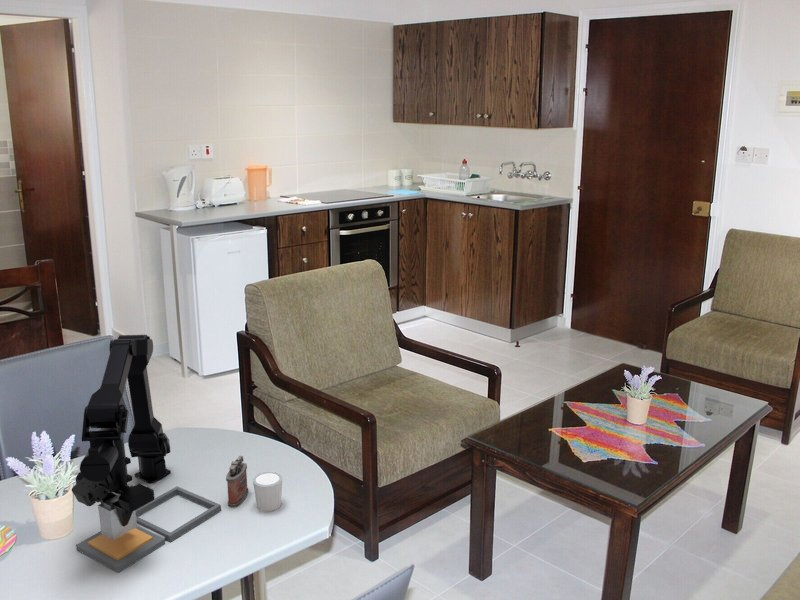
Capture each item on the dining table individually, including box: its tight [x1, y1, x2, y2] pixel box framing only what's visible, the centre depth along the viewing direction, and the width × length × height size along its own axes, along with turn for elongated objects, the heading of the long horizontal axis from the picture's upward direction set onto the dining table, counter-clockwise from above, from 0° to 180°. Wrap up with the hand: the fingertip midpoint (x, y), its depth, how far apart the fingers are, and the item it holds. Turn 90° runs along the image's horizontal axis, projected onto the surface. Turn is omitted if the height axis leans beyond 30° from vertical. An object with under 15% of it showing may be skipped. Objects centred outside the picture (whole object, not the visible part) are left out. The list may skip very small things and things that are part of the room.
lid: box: [75, 524, 166, 573], centre depth 164 cm, size 14×13×2 cm
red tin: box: [225, 455, 249, 509], centre depth 182 cm, size 8×3×10 cm, turn 168°
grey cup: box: [252, 471, 283, 513], centre depth 179 cm, size 7×7×7 cm
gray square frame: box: [135, 486, 222, 543], centre depth 176 cm, size 15×15×2 cm
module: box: [97, 495, 137, 541], centre depth 162 cm, size 4×6×8 cm, turn 147°
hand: (118, 522), depth 163 cm, fingers closed on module, 4 cm apart
